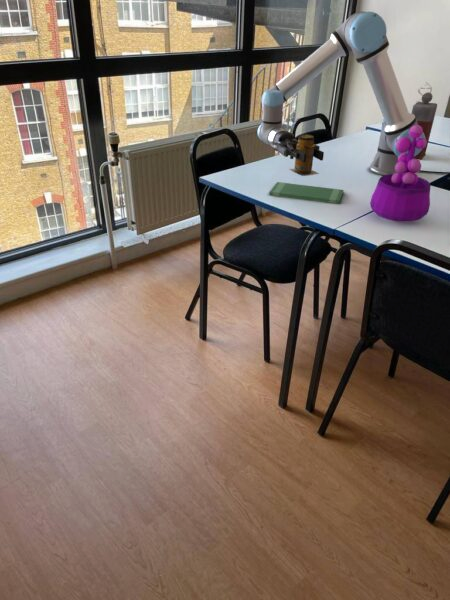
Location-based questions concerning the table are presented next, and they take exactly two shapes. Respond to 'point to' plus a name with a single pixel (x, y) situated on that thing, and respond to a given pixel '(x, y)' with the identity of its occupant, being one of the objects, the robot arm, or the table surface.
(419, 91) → the dna model
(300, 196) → the towel
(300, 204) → the table surface
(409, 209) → the decorative plant
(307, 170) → the condiment
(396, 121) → the robot arm
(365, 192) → the table surface
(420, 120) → the glass decanter
